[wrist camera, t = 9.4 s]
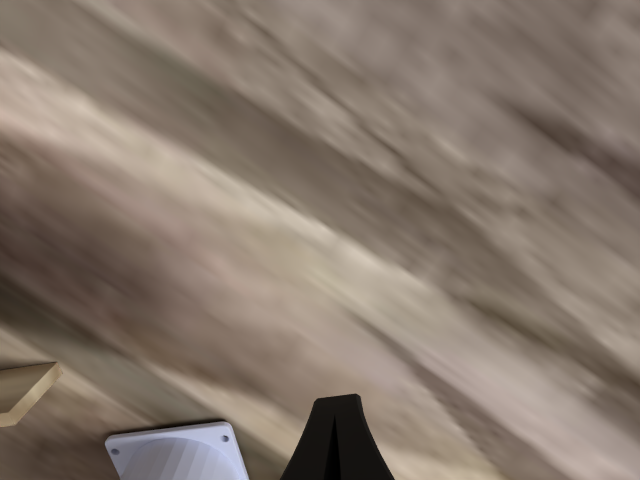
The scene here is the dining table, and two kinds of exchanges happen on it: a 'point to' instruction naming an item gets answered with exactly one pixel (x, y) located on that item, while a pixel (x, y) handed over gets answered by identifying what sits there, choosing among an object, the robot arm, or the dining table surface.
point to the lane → (24, 389)
